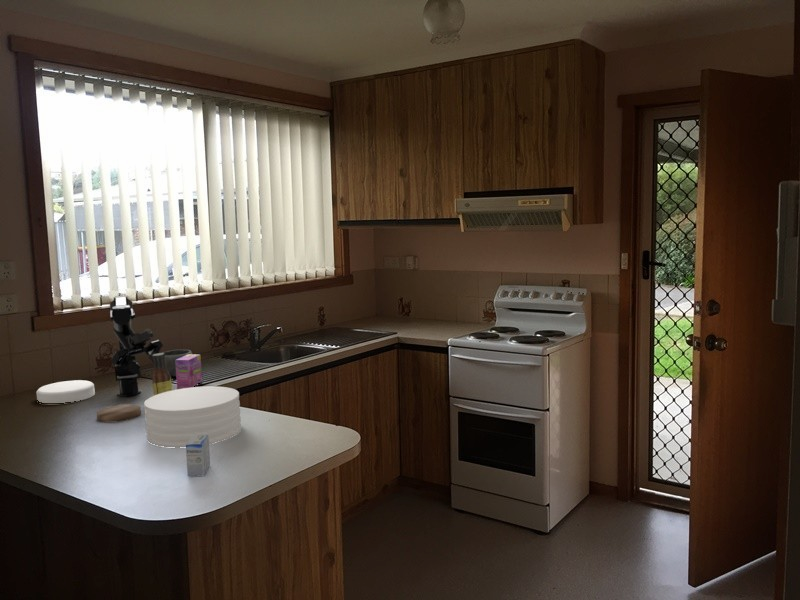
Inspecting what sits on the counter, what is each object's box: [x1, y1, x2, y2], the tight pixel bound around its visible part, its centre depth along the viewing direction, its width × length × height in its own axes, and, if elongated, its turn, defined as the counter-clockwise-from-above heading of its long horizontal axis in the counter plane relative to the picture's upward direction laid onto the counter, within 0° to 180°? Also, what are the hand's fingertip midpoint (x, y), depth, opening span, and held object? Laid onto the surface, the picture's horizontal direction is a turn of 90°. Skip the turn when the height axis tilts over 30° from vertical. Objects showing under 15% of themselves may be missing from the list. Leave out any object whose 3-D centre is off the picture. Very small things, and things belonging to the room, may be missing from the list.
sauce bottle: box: [151, 352, 173, 396], centre depth 243 cm, size 6×6×20 cm
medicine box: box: [185, 435, 211, 477], centre depth 183 cm, size 8×4×9 cm, turn 5°
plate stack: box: [143, 385, 242, 449], centre depth 216 cm, size 28×28×12 cm
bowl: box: [161, 349, 193, 377], centre depth 297 cm, size 15×15×10 cm
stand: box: [96, 403, 142, 422], centre depth 239 cm, size 14×14×2 cm
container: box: [35, 379, 96, 404], centre depth 267 cm, size 20×20×5 cm
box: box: [175, 353, 203, 390], centre depth 277 cm, size 10×6×12 cm, turn 168°
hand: (150, 370), depth 247 cm, fingers open, 9 cm apart
